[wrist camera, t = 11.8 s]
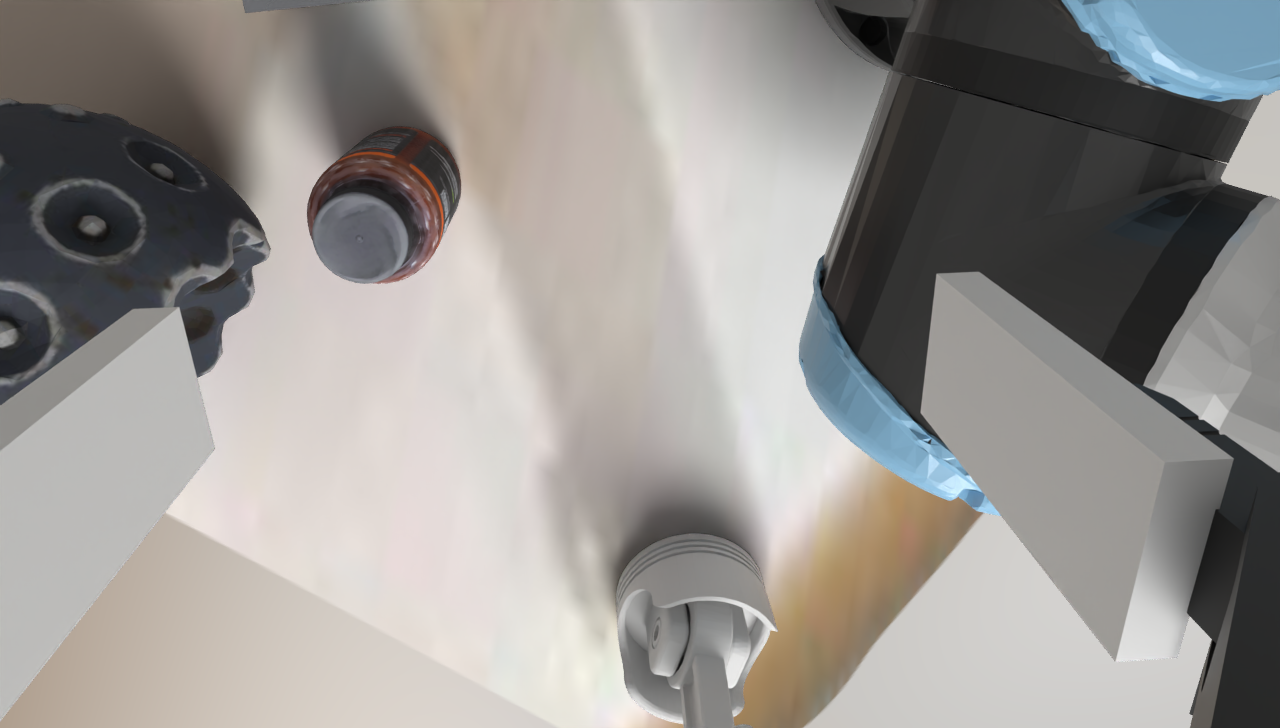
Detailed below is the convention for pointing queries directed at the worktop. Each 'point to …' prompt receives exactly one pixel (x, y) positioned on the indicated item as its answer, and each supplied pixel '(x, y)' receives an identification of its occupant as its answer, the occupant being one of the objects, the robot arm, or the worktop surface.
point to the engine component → (691, 628)
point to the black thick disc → (111, 238)
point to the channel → (287, 4)
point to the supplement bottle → (384, 206)
